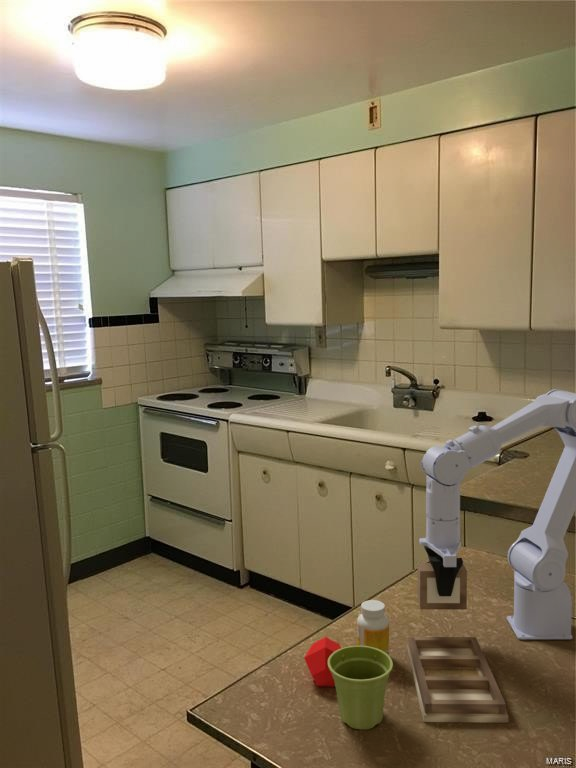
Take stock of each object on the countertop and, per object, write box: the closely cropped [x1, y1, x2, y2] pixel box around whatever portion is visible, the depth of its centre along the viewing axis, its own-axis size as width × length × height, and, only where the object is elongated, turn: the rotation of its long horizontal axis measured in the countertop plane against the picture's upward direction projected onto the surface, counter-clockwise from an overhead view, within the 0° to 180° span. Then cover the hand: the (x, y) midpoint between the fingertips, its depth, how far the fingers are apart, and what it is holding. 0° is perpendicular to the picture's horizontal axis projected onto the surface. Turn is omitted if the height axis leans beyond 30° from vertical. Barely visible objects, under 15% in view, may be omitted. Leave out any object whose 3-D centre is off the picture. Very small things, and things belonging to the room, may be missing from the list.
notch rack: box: [406, 636, 509, 724], centre depth 105 cm, size 12×20×2 cm, turn 177°
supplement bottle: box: [356, 599, 390, 656], centre depth 112 cm, size 5×5×10 cm
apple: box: [303, 636, 342, 688], centre depth 107 cm, size 7×7×8 cm
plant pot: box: [328, 645, 394, 730], centre depth 96 cm, size 9×9×9 cm
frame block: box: [416, 562, 468, 611], centre depth 117 cm, size 8×4×7 cm, turn 86°
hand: (442, 590), depth 117 cm, fingers closed on frame block, 3 cm apart
